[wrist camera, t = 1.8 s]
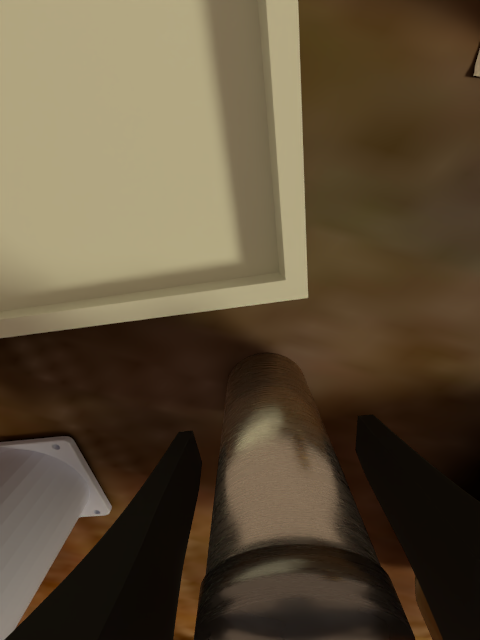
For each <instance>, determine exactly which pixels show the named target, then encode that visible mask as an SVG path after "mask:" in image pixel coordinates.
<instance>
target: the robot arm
mask: <svg viewBox="0 0 480 640" xmlns="http://www.w3.org/2000/svg"><path fill="white" fill-rule="evenodd" d="M356 453H357V455H358V458H359V460H360V463H361V465H362V468H363V470H364V473H365V475H366V478H367V479H368V481H369V483H370V485H371V487H372V489H373V491H374V493H375V495H376V497H377V499H378V501H379V503H380V505H381V507H382V509H383V511H384V513H385V514H386V516H387V518H388V520H389V522H390V524H391V526H392V528H393V530H394V532H395V534H396V536H397V538H398V540H399V541H400V543H401V545H402V547H403V549H404V551H405V554H406V556H407V558H408V560H409V562H410V564H411V566H412V568H413V571H414V573H415V575H416V578H417V580H418V582H419V585H420V587H421V589H422V591H423V594H424V596H425V598H426V601H427V603H428V605H429V608H430V610H431V612H432V615H433V617H434V620H435V622H436V624H437V627H438V629H439V632H440V634H441V636H442V639H443V640H480V502H479V501H478V500H476V499H475V498H473V497H472V496H471V495H469V494H468V493H467V492H465V491H464V490H463V489H461V488H460V487H459V486H458V485H456V484H455V483H454V482H452V481H451V480H450V479H449V478H447V477H446V476H445V475H443V474H442V473H441V472H440V471H438V470H437V469H436V468H435V467H433V466H432V465H431V464H430V463H429V462H427V461H426V460H425V459H424V458H423V457H421V456H420V455H419V454H418V453H416V452H415V451H414V450H413V449H412V448H411V447H409V446H408V445H407V444H406V443H405V442H404V441H402V440H401V439H400V438H399V437H398V436H397V435H395V434H394V433H393V432H392V431H391V430H390V429H389V428H388V427H386V426H385V425H384V424H383V423H382V422H381V421H380V420H379V419H377V418H376V417H375V416H374V415H363V416H358V421H357V436H356ZM201 466H202V461H201V457H200V454H199V451H198V447H197V444H196V441H195V437H194V434H193V431H184V432H179V433H178V434H177V436H176V437H175V439H174V440H173V442H172V443H171V445H170V446H169V448H168V450H167V451H166V453H165V454H164V456H163V457H162V459H161V460H160V462H159V463H158V465H157V466H156V467H155V469H154V470H153V472H152V473H151V475H150V476H149V478H148V479H147V480H146V482H145V483H144V485H143V486H142V487H141V489H140V490H139V491H138V493H137V494H136V495H135V497H134V498H133V499H132V501H131V502H130V504H129V505H128V506H127V508H126V509H125V510H124V511H123V513H122V514H121V515H120V516H119V518H118V519H117V520H116V521H115V523H114V524H113V525H112V526H111V528H110V529H109V530H108V531H107V532H106V533H105V535H104V536H103V537H102V538H101V539H100V541H99V542H98V543H97V544H96V545H95V546H94V547H93V549H92V550H91V551H90V552H89V553H88V554H87V555H86V556H85V558H84V559H83V560H82V561H81V562H80V563H79V564H78V565H77V566H76V568H75V569H74V570H73V571H72V572H71V573H70V574H69V575H68V576H67V577H66V578H65V579H64V580H63V582H62V583H61V584H60V585H59V586H58V587H57V588H56V589H55V590H54V591H53V592H52V593H51V594H50V595H49V596H48V597H47V598H46V599H45V600H44V601H43V602H42V603H41V604H40V605H39V606H38V607H37V608H36V609H35V610H34V611H33V612H32V613H31V614H30V615H29V616H28V617H27V618H26V619H25V620H24V621H23V622H22V623H21V624H20V625H19V626H18V627H17V628H16V626H17V624H18V623H19V621H20V619H21V617H22V616H23V614H24V612H25V610H26V609H27V607H28V605H29V603H30V602H31V600H32V598H33V597H34V595H35V593H36V591H37V590H38V588H39V586H40V584H41V583H42V581H43V579H44V577H45V576H46V574H47V572H48V570H49V569H50V567H51V565H52V563H53V562H54V560H55V558H56V556H57V555H58V553H59V551H60V549H61V548H62V546H63V544H64V543H65V541H66V539H67V537H68V536H69V534H70V532H71V530H72V529H73V527H74V525H75V523H76V522H77V520H78V518H79V517H87V516H101V515H108V514H109V513H110V511H111V508H112V506H111V504H110V502H109V501H108V499H107V497H106V495H105V494H104V492H103V490H102V488H101V487H100V485H99V483H98V481H97V480H96V478H95V476H94V474H93V473H92V471H91V469H90V468H89V466H88V464H87V462H86V461H85V459H84V457H83V455H82V454H81V452H80V450H79V448H78V447H77V445H76V443H75V441H74V440H73V439H72V438H71V437H68V436H60V437H50V438H39V439H29V440H18V441H8V442H0V640H173V636H174V628H175V620H176V612H177V605H178V597H179V590H180V583H181V576H182V570H183V564H184V559H185V553H186V549H187V544H188V539H189V535H190V530H191V525H192V520H193V516H194V511H195V506H196V501H197V497H198V492H199V485H200V476H201ZM15 628H16V629H15Z"/></svg>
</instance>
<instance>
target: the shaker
mask: <svg viewBox="0 0 480 640" xmlns="http://www.w3.org/2000/svg"><path fill="white" fill-rule="evenodd" d="M194 640H415V637H414V634H413V632H412V629H411V627H410V625H409V622H408V620H407V617H406V615H405V613H404V610H403V608H402V605H401V603H400V601H399V598H398V596H397V593H396V591H395V589H394V586H393V584H392V581H391V579H390V577H389V575H388V574H387V573H386V572H385V570H384V569H383V568H382V567H381V566H380V563H379V561H378V558H377V556H376V553H375V551H374V548H373V546H372V543H371V541H370V538H369V536H368V533H367V531H366V528H365V526H364V523H363V521H362V518H361V516H360V514H359V511H358V509H357V506H356V504H355V501H354V499H353V496H352V494H351V491H350V489H349V486H348V484H347V481H346V479H345V476H344V474H343V471H342V469H341V466H340V464H339V461H338V459H337V456H336V454H335V451H334V449H333V447H332V444H331V442H330V439H329V437H328V434H327V432H326V429H325V427H324V424H323V422H322V419H321V417H320V414H319V412H318V409H317V407H316V404H315V402H314V399H313V397H312V394H311V392H310V389H309V387H308V385H307V382H306V380H305V377H304V375H303V373H302V371H301V369H300V368H299V366H298V365H297V364H296V363H295V362H293V361H292V360H290V359H289V358H287V357H284V356H282V355H278V354H273V353H262V354H256V355H253V356H250V357H248V358H246V359H244V360H242V361H241V362H239V363H238V364H237V365H236V366H235V367H234V368H233V370H232V371H231V373H230V375H229V378H228V382H227V390H226V399H225V408H224V417H223V426H222V434H221V443H220V452H219V461H218V470H217V479H216V488H215V497H214V506H213V514H212V523H211V532H210V541H209V550H208V559H207V568H206V576H205V577H204V579H203V581H202V583H201V587H200V594H199V602H198V610H197V618H196V626H195V634H194Z"/></svg>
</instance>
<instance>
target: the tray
mask: <svg viewBox="0 0 480 640" xmlns="http://www.w3.org/2000/svg"><path fill="white" fill-rule="evenodd" d="M303 298H308V282H307V252H306V223H305V193H304V163H303V134H302V104H301V75H300V45H299V16H298V0H0V338H6V337H14V336H22V335H29V334H37V333H44V332H52V331H60V330H67V329H75V328H83V327H90V326H98V325H105V324H113V323H121V322H128V321H136V320H143V319H151V318H159V317H166V316H174V315H181V314H189V313H197V312H204V311H212V310H219V309H227V308H235V307H242V306H250V305H257V304H265V303H273V302H280V301H288V300H295V299H303Z"/></svg>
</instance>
